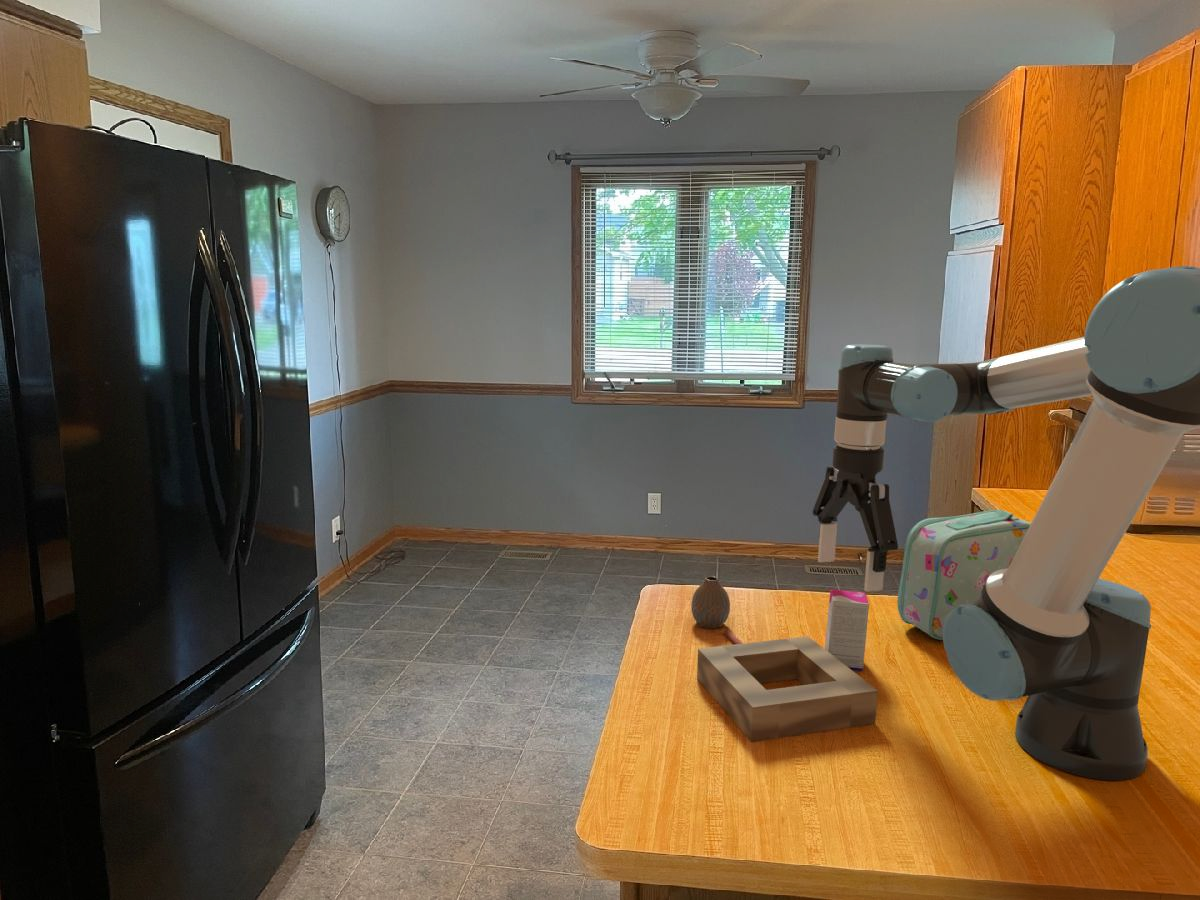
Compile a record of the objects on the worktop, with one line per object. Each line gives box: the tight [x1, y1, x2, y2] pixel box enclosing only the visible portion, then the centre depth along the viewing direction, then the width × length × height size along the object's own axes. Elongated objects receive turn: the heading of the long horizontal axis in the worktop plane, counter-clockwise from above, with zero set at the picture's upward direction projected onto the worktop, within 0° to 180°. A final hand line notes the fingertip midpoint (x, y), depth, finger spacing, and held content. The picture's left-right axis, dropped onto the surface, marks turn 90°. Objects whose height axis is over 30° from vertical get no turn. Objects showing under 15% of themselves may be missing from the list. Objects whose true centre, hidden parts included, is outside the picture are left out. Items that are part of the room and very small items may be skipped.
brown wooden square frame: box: [696, 636, 879, 743], centre depth 122 cm, size 19×19×5 cm
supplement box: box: [824, 588, 870, 672], centre depth 134 cm, size 6×6×12 cm
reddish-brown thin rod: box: [723, 628, 743, 644], centre depth 140 cm, size 12×1×1 cm, turn 16°
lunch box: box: [897, 509, 1032, 641], centre depth 149 cm, size 27×10×21 cm, turn 115°
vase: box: [690, 575, 731, 630], centre depth 149 cm, size 7×7×9 cm
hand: (848, 575), depth 133 cm, fingers open, 13 cm apart
